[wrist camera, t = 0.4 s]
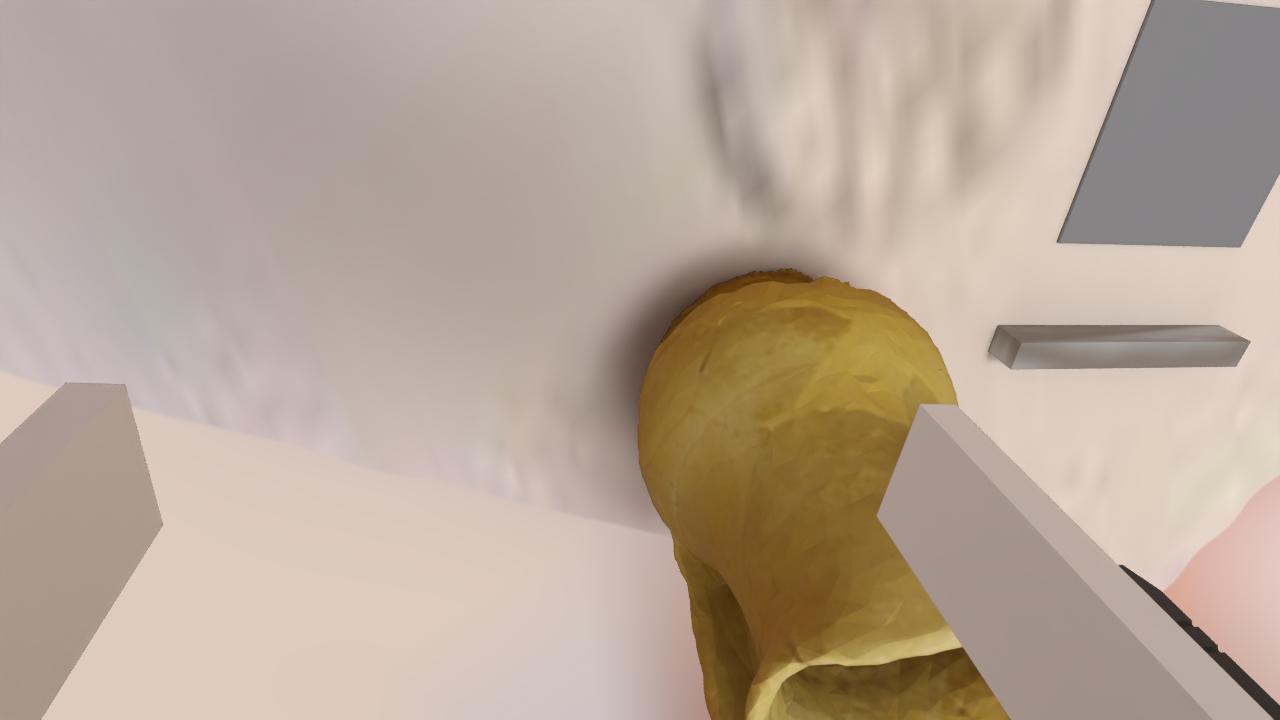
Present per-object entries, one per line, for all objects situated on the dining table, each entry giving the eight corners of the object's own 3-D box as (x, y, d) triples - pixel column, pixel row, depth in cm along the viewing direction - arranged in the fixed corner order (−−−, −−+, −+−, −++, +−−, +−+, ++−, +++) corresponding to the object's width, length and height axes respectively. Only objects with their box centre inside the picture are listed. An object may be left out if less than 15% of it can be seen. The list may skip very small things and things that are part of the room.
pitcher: (922, 380, 47) (1225, 728, 26) (691, 505, 51) (786, 902, 29) (820, 173, 39) (1136, 427, 18) (555, 339, 43) (547, 719, 21)
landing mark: (1154, -5, 37) (1157, -5, 37) (1359, 16, 40) (1363, 16, 39) (1057, 241, 44) (1059, 242, 44) (1237, 246, 46) (1240, 247, 46)
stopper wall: (998, 325, 46) (1021, 342, 44) (1218, 325, 50) (1250, 341, 47) (988, 351, 47) (1011, 369, 45) (1205, 349, 51) (1236, 366, 48)
